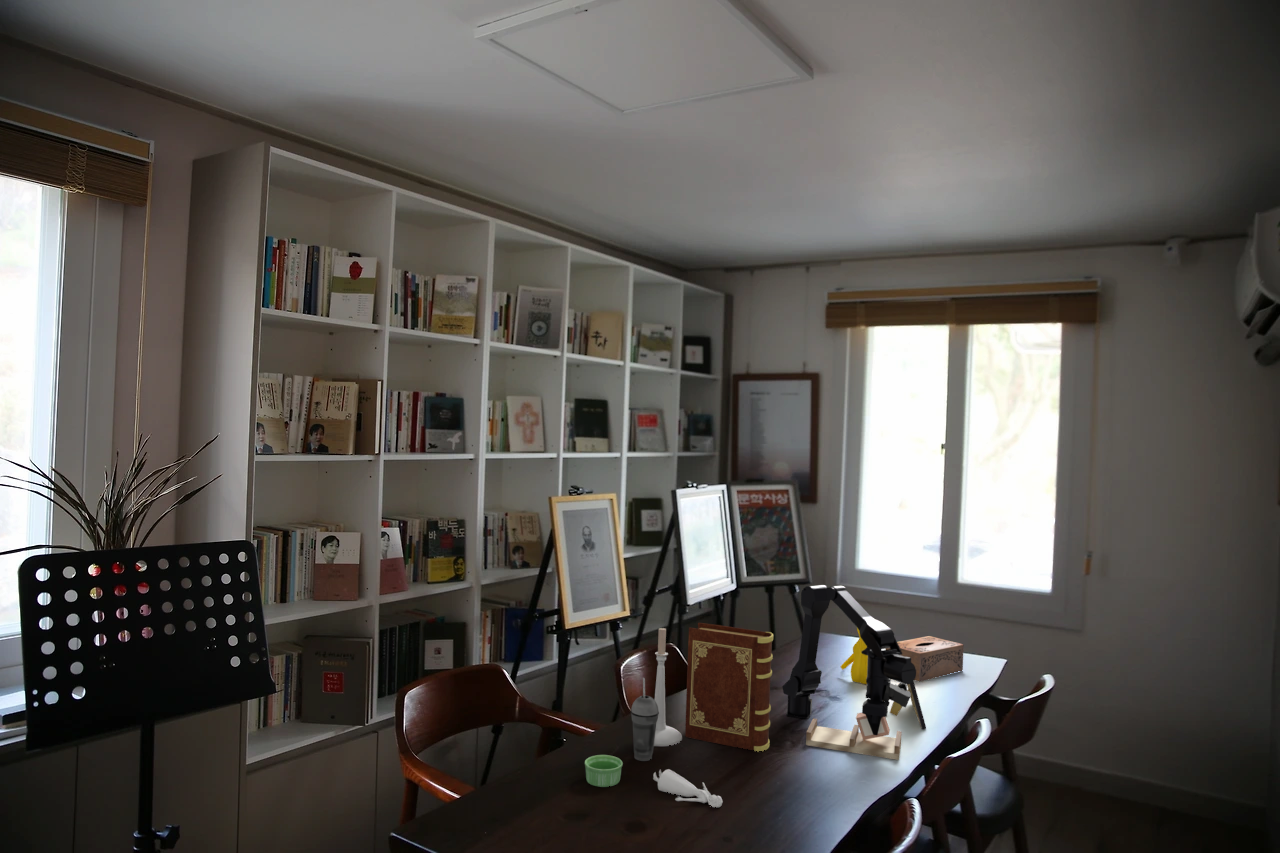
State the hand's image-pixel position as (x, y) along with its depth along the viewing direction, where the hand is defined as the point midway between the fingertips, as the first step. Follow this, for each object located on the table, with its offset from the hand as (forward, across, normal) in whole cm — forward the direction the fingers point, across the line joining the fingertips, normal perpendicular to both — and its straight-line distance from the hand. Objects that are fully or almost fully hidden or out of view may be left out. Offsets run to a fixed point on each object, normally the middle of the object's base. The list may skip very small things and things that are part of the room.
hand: (875, 732), depth 226 cm
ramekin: (+5, -50, +59) cm, 77 cm away
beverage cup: (+5, -33, +55) cm, 64 cm away
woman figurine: (+5, -50, +38) cm, 63 cm away
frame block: (+1, 0, 0) cm, 1 cm away
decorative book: (+5, -12, +38) cm, 40 cm away
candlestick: (+5, -18, +56) cm, 59 cm away
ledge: (+4, 0, +6) cm, 7 cm away
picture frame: (+5, +32, -6) cm, 33 cm away
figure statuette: (+5, +61, +9) cm, 62 cm away
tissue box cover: (+5, +86, -10) cm, 87 cm away
